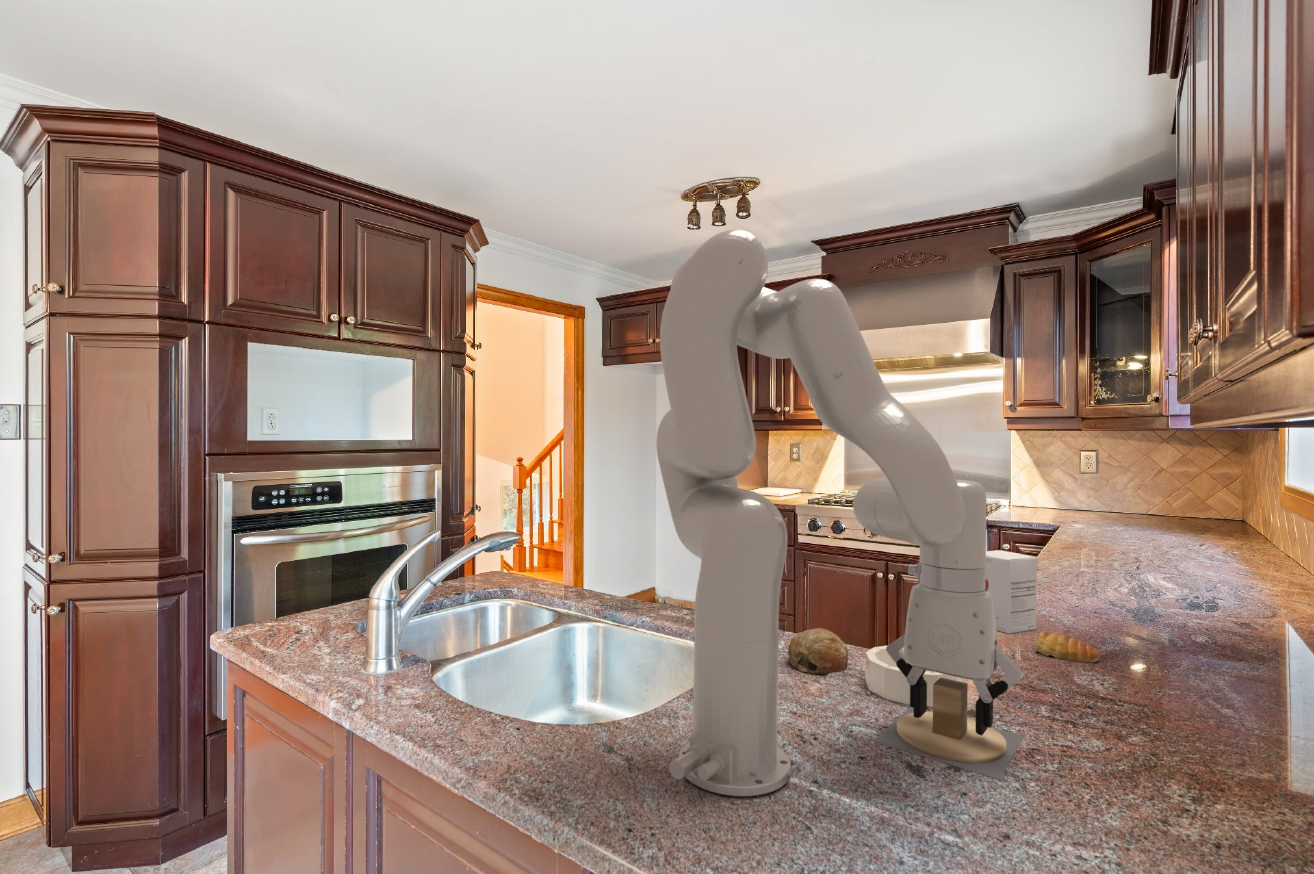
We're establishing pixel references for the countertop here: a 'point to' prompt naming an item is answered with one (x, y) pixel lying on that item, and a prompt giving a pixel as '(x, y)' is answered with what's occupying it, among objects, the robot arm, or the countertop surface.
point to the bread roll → (818, 652)
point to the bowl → (895, 677)
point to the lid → (950, 728)
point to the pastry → (1065, 648)
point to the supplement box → (1012, 590)
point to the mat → (986, 769)
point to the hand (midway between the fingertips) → (950, 721)
